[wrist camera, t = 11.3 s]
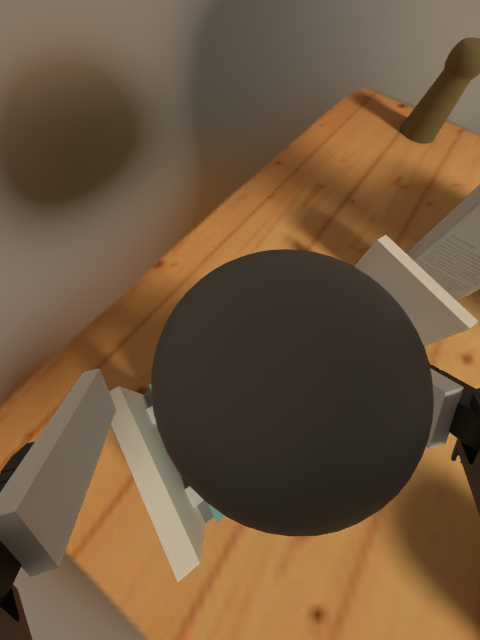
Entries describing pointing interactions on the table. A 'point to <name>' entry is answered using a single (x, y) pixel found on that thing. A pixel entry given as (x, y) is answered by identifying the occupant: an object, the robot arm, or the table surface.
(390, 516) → the table surface
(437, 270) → the skincare box
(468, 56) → the olive pawn figure
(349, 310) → the carriage
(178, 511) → the rail track
